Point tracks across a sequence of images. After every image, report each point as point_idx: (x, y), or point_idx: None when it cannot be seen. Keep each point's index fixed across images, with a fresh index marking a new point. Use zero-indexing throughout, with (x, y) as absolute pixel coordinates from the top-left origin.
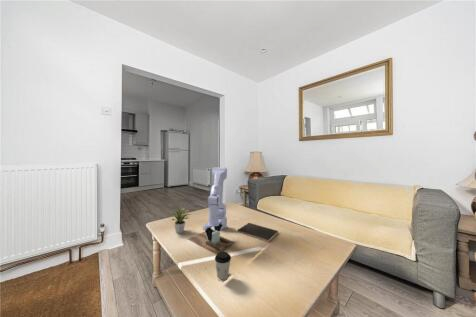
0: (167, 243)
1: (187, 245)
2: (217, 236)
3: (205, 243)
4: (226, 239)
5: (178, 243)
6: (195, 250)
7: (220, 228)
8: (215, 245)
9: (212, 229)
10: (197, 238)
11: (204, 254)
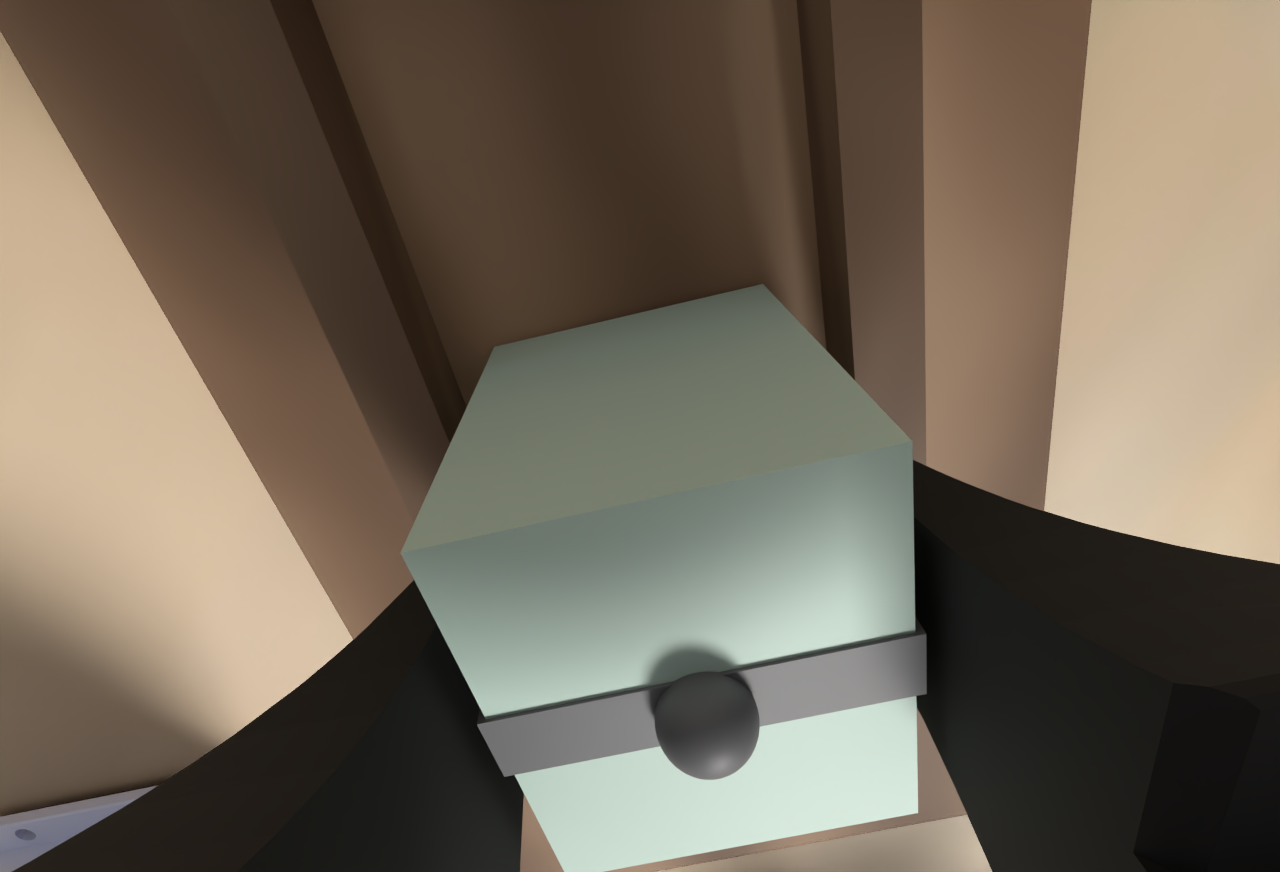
0: None
1: None
2: (601, 410)
3: None
4: (225, 343)
5: None
6: (1169, 402)
7: (247, 746)
8: (870, 68)
9: (607, 855)
10: None
11: (1192, 75)
